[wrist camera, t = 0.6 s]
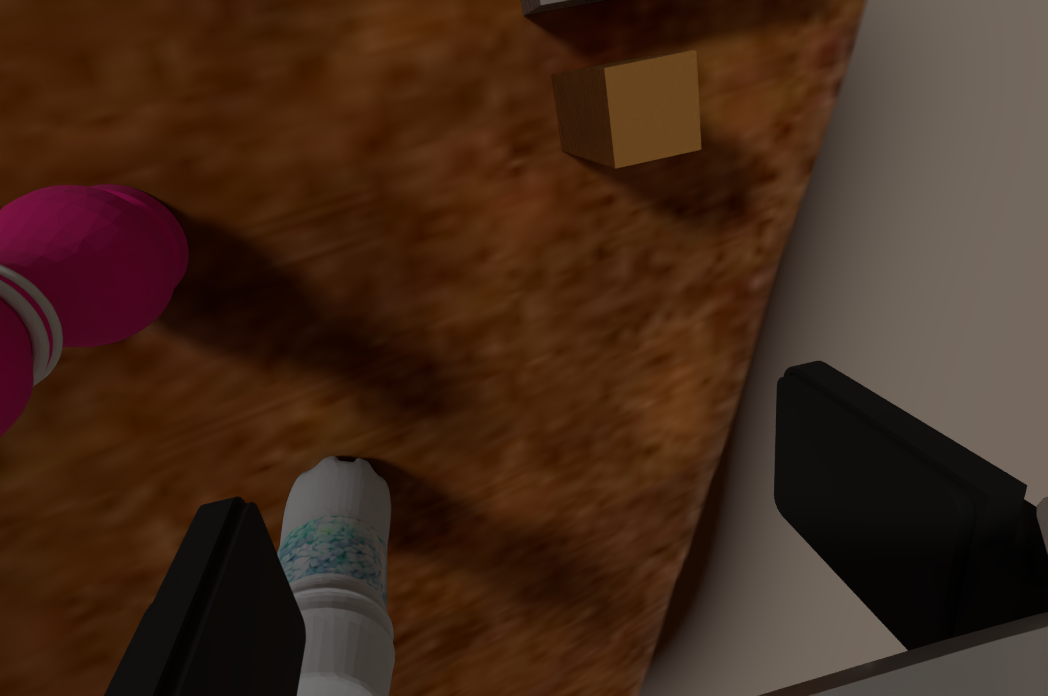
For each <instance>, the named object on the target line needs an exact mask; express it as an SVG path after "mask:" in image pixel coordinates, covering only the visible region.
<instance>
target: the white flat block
mask: <svg viewBox="0 0 1048 696" xmlns="http://www.w3.org/2000/svg"><path fill="white" fill-rule="evenodd" d="M599 1H604V0H521V3H522V9H523V16H524V15H530V14H535V13H540V12H545V11H551V10H556V9H561V8H567V7H572V6H577V5H583V4H588V3H593V2H599Z"/></svg>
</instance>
